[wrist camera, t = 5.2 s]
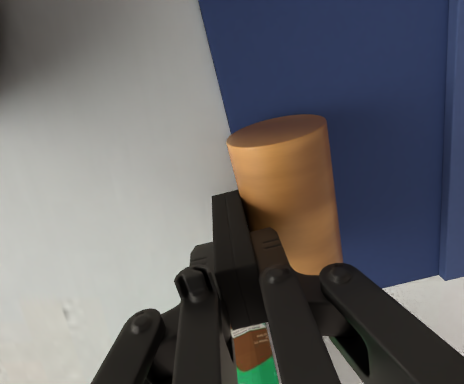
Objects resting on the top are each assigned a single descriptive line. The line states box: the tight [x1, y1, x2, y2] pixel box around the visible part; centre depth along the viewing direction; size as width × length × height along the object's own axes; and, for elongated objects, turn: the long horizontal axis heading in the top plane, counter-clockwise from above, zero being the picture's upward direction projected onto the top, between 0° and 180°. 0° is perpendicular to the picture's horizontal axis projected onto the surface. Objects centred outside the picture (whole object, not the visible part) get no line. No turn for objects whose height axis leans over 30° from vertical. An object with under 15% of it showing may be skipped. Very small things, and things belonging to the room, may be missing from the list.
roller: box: [226, 114, 343, 275], centre depth 17 cm, size 8×5×5 cm, turn 14°
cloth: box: [198, 0, 464, 289], centre depth 18 cm, size 22×14×1 cm, turn 14°
